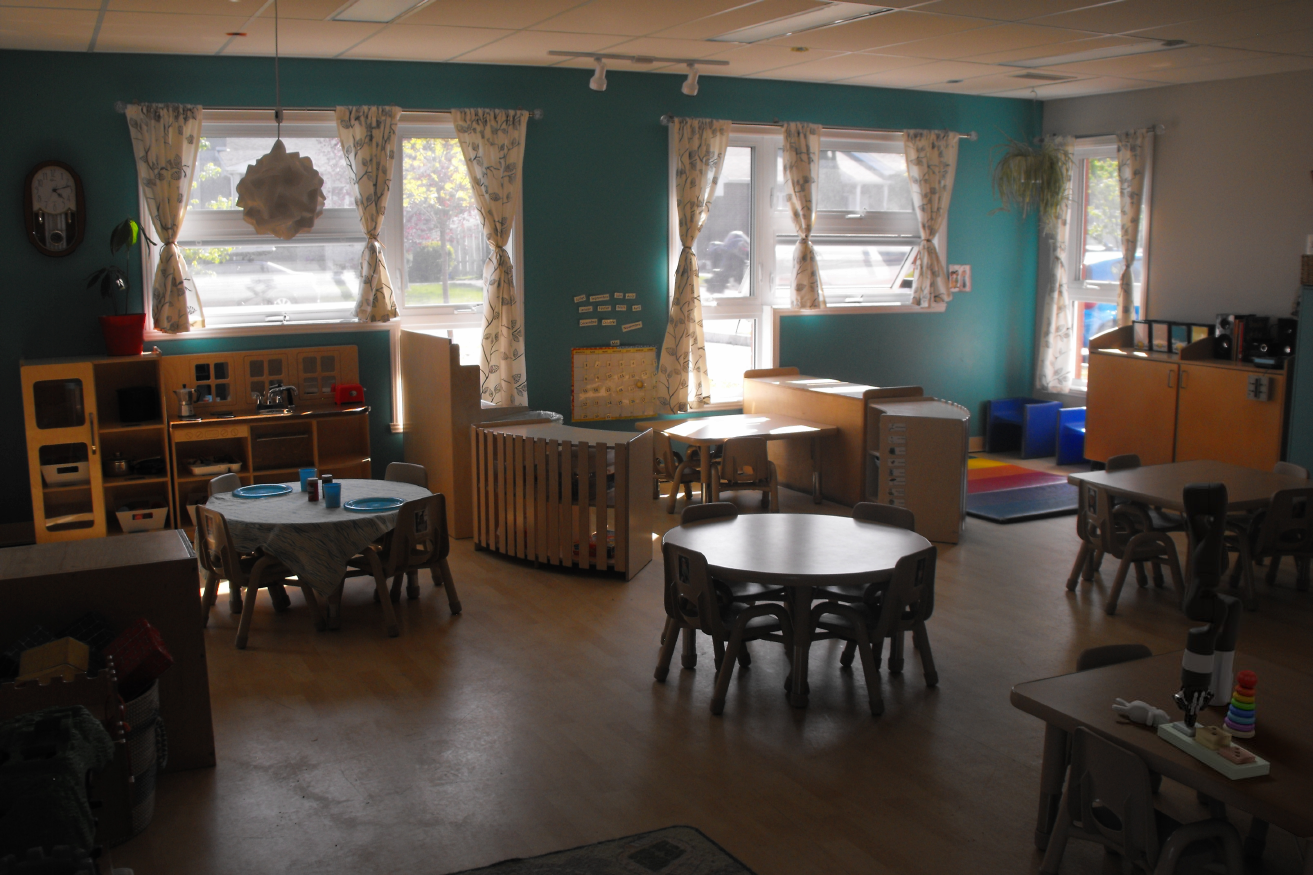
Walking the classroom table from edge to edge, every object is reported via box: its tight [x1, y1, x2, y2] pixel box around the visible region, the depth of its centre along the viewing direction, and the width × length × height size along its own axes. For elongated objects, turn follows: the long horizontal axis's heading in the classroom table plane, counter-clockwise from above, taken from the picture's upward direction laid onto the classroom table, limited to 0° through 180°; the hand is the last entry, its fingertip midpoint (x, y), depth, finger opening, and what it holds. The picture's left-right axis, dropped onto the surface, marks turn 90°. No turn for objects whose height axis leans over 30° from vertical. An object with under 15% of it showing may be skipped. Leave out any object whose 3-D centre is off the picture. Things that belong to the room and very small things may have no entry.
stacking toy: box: [1222, 669, 1259, 739], centre depth 301 cm, size 8×8×19 cm
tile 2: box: [1195, 725, 1233, 751], centre depth 289 cm, size 6×6×4 cm
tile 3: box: [1218, 745, 1257, 765], centre depth 282 cm, size 6×6×4 cm
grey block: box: [1172, 720, 1203, 738], centre depth 296 cm, size 6×6×4 cm
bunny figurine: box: [1111, 697, 1171, 729], centre depth 308 cm, size 10×5×15 cm
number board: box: [1156, 721, 1271, 781], centre depth 289 cm, size 12×26×3 cm, turn 18°
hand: (1189, 724), depth 296 cm, fingers closed
